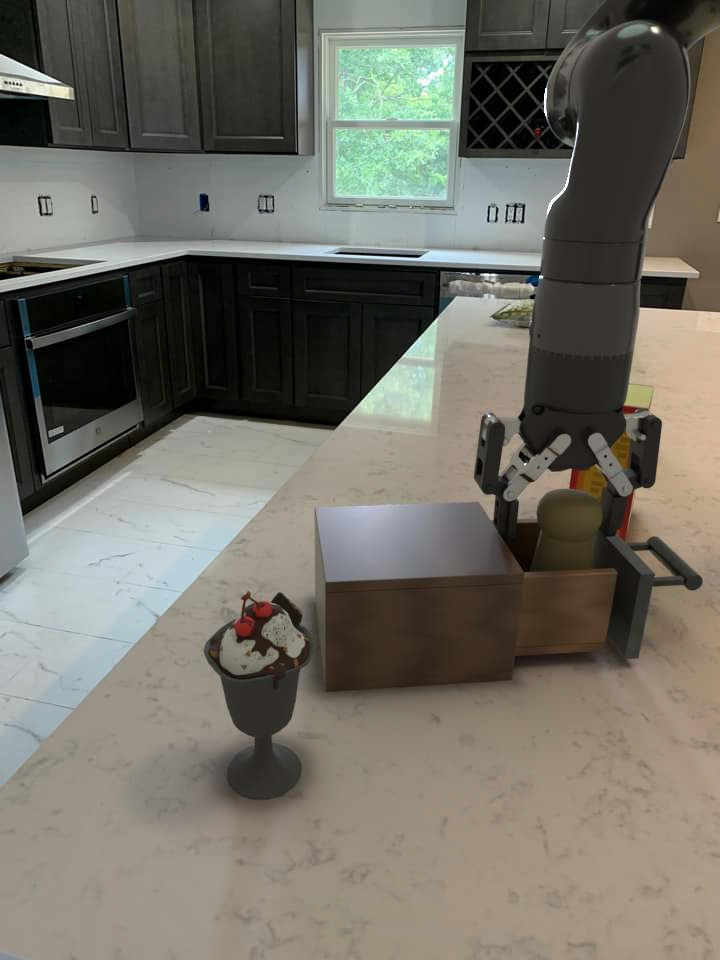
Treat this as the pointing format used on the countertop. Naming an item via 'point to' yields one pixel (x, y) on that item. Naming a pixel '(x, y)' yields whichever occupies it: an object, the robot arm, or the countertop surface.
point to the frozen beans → (516, 313)
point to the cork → (566, 530)
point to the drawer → (591, 595)
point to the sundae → (262, 690)
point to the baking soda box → (616, 455)
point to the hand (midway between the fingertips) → (556, 534)
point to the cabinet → (414, 596)
